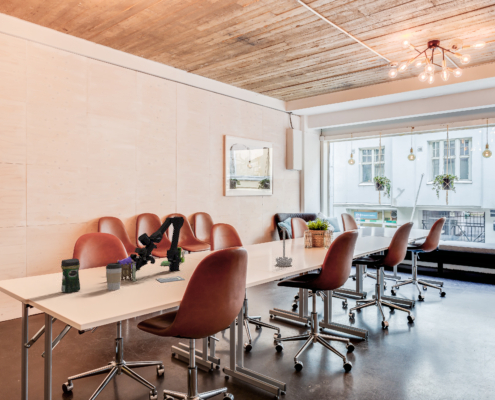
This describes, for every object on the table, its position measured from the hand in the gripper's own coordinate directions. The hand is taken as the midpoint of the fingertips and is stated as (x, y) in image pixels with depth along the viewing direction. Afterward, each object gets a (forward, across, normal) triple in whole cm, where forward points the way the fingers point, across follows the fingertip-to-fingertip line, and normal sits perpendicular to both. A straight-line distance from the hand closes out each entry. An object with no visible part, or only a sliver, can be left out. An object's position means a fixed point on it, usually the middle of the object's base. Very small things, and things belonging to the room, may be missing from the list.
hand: (135, 269), depth 249 cm
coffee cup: (+21, +6, -12) cm, 25 cm away
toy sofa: (-5, -22, +16) cm, 28 cm away
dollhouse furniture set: (-36, -19, +48) cm, 63 cm away
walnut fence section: (+7, -9, +2) cm, 11 cm away
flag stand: (-63, +61, +75) cm, 115 cm away
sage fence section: (+5, -1, +4) cm, 6 cm away
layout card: (-4, +19, +13) cm, 23 cm away
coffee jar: (+33, -10, -24) cm, 42 cm away
